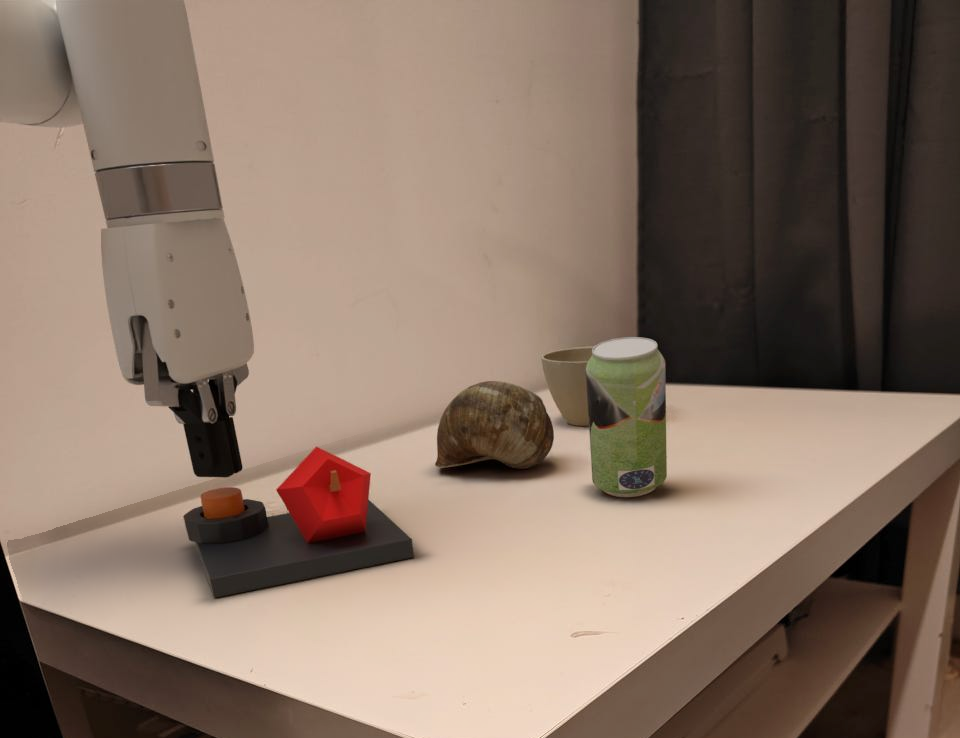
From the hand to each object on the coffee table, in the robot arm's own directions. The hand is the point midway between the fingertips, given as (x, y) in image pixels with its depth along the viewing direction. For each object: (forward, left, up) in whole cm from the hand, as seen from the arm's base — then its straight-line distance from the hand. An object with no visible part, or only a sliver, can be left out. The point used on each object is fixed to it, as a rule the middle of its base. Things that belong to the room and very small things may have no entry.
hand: (219, 473), depth 69 cm
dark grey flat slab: (+4, -4, -6) cm, 8 cm away
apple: (+7, -5, -5) cm, 10 cm away
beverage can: (+31, -5, -6) cm, 32 cm away
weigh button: (0, 0, -3) cm, 3 cm away
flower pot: (+41, +21, -6) cm, 47 cm away
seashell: (+25, +9, -6) cm, 28 cm away
